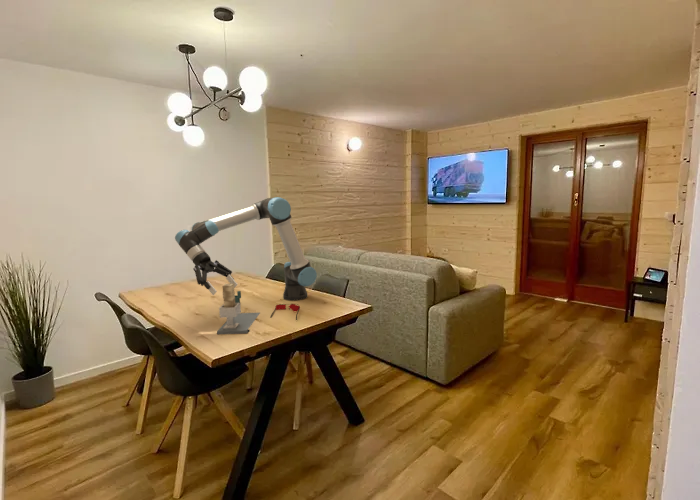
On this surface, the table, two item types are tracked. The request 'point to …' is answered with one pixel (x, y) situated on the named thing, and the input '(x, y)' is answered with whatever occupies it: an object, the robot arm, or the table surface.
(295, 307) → the glasses
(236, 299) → the bracket
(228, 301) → the light brown tall block
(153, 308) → the table surface
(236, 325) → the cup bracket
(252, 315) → the board
